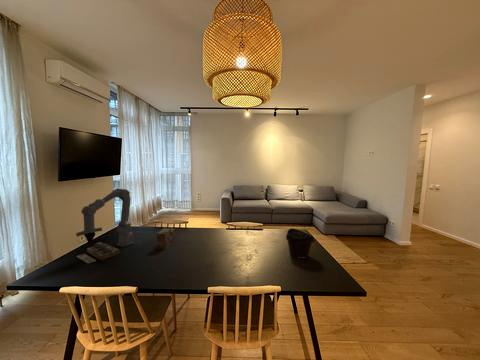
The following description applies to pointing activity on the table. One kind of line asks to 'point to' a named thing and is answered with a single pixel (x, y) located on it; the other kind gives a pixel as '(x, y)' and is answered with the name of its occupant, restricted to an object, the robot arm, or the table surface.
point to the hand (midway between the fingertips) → (90, 243)
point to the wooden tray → (102, 252)
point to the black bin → (299, 243)
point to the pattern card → (86, 258)
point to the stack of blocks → (165, 238)
